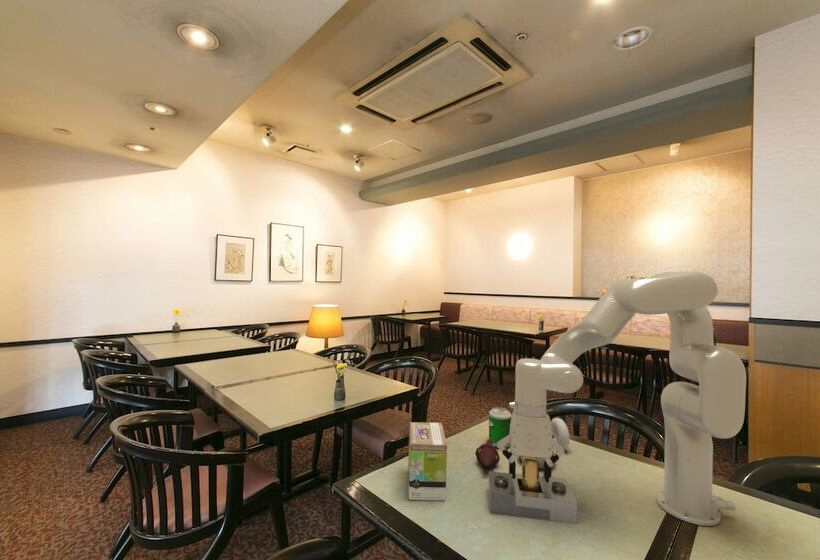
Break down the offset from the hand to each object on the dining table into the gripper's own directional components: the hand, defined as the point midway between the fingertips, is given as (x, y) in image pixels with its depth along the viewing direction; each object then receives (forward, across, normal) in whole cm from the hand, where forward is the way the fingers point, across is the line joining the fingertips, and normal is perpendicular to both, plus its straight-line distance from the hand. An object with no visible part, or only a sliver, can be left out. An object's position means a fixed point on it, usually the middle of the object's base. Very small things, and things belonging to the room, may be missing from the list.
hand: (529, 477), depth 91 cm
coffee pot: (+7, +6, +18) cm, 20 cm away
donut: (+7, +15, +35) cm, 39 cm away
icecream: (+7, -10, +18) cm, 22 cm away
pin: (+7, 0, 0) cm, 7 cm away
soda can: (+7, -5, +33) cm, 34 cm away
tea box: (+7, -27, +4) cm, 28 cm away
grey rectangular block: (+7, 0, 0) cm, 7 cm away
